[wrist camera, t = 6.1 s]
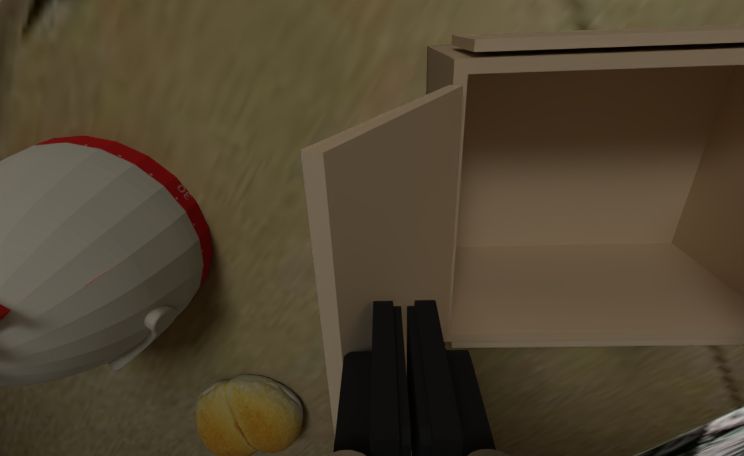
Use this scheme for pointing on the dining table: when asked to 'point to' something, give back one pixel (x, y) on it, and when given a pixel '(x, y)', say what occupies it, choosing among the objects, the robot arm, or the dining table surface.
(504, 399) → the dining table surface
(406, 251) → the flap
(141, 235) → the kitchen timer
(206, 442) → the bread roll
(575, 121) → the carton
